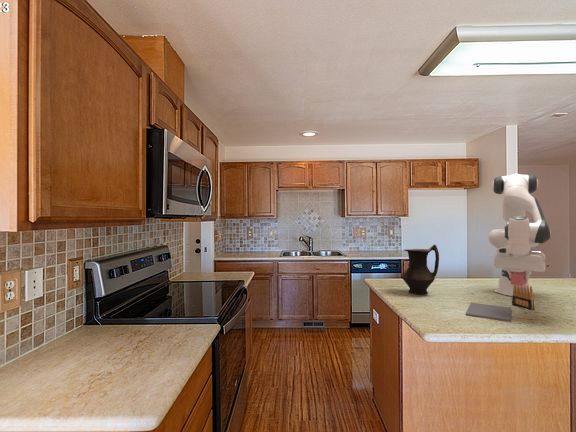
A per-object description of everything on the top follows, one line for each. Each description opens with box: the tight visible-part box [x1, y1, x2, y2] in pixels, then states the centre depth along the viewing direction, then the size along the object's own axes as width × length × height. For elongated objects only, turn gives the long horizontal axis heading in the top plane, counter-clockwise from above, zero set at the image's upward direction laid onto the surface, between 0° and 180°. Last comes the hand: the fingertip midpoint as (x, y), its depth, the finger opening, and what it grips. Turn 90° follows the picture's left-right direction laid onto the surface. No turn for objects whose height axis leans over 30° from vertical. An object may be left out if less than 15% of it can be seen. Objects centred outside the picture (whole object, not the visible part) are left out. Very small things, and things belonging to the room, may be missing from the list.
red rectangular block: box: [511, 272, 528, 286], centre depth 162 cm, size 8×4×5 cm, turn 131°
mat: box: [465, 302, 512, 322], centre depth 168 cm, size 24×18×1 cm
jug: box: [401, 244, 440, 296], centre depth 206 cm, size 21×18×30 cm
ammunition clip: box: [511, 285, 535, 311], centre depth 176 cm, size 11×2×12 cm, turn 17°
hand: (518, 279), depth 162 cm, fingers closed on red rectangular block, 4 cm apart
